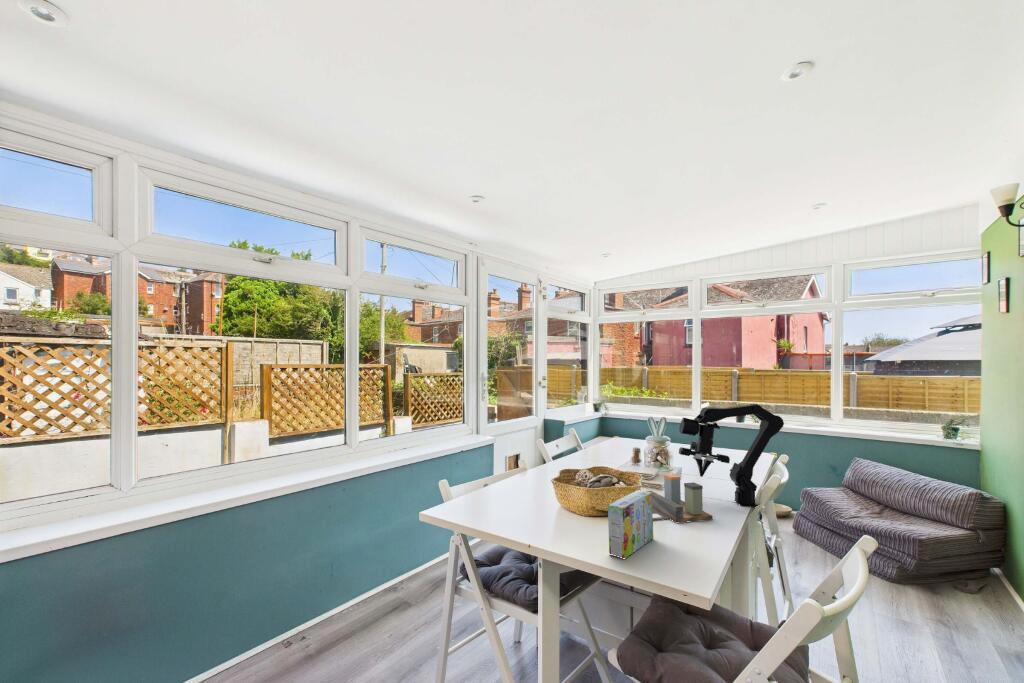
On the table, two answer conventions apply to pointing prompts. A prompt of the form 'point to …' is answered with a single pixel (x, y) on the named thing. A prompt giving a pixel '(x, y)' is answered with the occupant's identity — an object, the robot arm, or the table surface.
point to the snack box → (630, 523)
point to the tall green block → (693, 498)
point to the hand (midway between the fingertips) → (701, 476)
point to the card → (658, 515)
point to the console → (675, 509)
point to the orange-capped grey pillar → (672, 487)
